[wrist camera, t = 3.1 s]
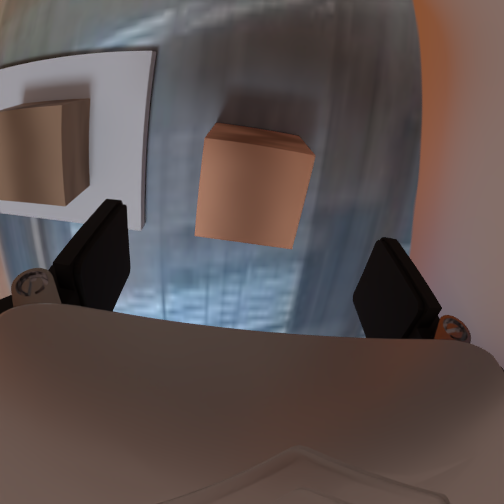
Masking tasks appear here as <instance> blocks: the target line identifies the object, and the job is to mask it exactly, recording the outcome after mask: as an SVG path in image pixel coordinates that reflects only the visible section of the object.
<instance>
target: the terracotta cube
mask: <svg viewBox="0 0 504 504" xmlns="http://www.w3.org/2000/svg"><path fill="white" fill-rule="evenodd" d="M314 160H315V155H314V153H313V152H312V151H311V150H310V149H309V147H308V146H307V145H306V144H305V143H304V141H303V140H302V139H301V138H300V137H299V136H297V135H292V134H287V133H281V132H276V131H270V130H264V129H258V128H252V127H245V126H238V125H231V124H223V123H216V124H215V125H214V126H213V128H212V129H211V130H210V132H209V133H208V134H207V136H206V137H205V140H204V148H203V157H202V165H201V174H200V184H199V193H198V204H197V214H196V226H195V236H199V237H206V238H214V239H221V240H229V241H236V242H243V243H251V244H258V245H265V246H272V247H280V248H287V249H292V247H293V243H294V239H295V236H296V232H297V228H298V224H299V220H300V217H301V213H302V209H303V205H304V201H305V197H306V193H307V189H308V185H309V181H310V177H311V173H312V169H313V164H314Z"/></svg>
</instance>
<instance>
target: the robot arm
mask: <svg viewBox="0 0 504 504" xmlns="http://www.w3.org/2000/svg"><path fill="white" fill-rule="evenodd" d="M129 273H130V254H129V239H128V219H127V206H126V205H125V204H123V203H122V201H121V200H115V199H106V200H105V201H104V202H103V203H102V204H101V205H100V206H99V207H98V208H97V209H96V211H95V212H94V213H93V214H92V215H91V216H90V217H89V219H88V220H87V221H86V222H85V223H84V224H83V226H82V227H81V228H80V229H79V230H78V232H77V233H76V234H75V235H74V236H73V238H72V239H71V240H70V241H69V243H68V244H67V245H66V246H65V248H64V249H63V250H62V251H61V253H60V254H59V255H58V256H57V258H56V259H55V260H54V262H53V265H52V266H51V267H50V269H49V270H46V269H43V268H33V269H29V270H27V271H24V272H22V273H21V274H20V275H18V276H17V277H16V278H15V280H14V281H13V283H12V286H11V293H12V295H10V296H8V297H5V298H3V299H0V504H504V370H503V368H502V367H501V366H500V365H499V364H498V362H497V361H496V359H495V358H494V356H493V355H491V354H490V353H489V352H487V351H486V350H484V349H482V348H480V347H478V346H475V345H473V344H470V342H471V335H470V332H469V330H468V328H467V327H466V326H465V324H464V323H463V322H462V321H460V320H459V319H457V318H456V317H454V316H450V315H444V316H442V317H441V318H440V319H439V317H438V314H439V312H440V311H441V309H442V307H441V306H440V304H439V303H438V301H437V299H436V297H435V296H434V294H433V293H432V291H431V289H430V288H429V286H428V285H427V283H426V282H425V280H424V278H423V277H422V276H421V274H420V272H419V271H418V270H417V268H416V266H415V265H414V263H413V262H412V261H411V259H410V258H409V256H408V255H407V253H406V252H405V250H404V249H403V248H402V246H401V245H400V243H399V242H398V241H397V240H396V239H391V238H386V237H383V238H381V239H380V240H378V241H377V242H376V243H375V246H374V248H373V251H372V253H371V255H370V258H369V260H368V262H367V265H366V267H365V269H364V272H363V274H362V276H361V278H360V281H359V283H358V285H357V287H356V289H355V292H354V294H353V302H354V305H355V308H356V311H357V313H358V316H359V319H360V322H361V324H362V327H363V330H364V333H365V336H366V338H352V337H331V336H314V335H299V334H286V333H273V332H262V331H251V330H241V329H232V328H223V327H214V326H206V325H198V324H190V323H182V322H175V321H168V320H161V319H154V318H148V317H142V316H136V315H130V314H124V313H119V312H113V309H114V307H115V305H116V302H117V300H118V298H119V296H120V293H121V291H122V289H123V287H124V285H125V283H126V280H127V278H128V276H129Z"/></svg>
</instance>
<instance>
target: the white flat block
mask: <svg viewBox="0 0 504 504" xmlns="http://www.w3.org/2000/svg"><path fill="white" fill-rule="evenodd" d="M155 58H156V52H155V51H121V52H104V53H92V54H82V55H73V56H65V57H58V58H52V59H46V60H40V61H35V62H30V63H25V64H21V65H16V66H12V67H8V68H4V69H0V212H1V213H4V214H13V215H21V216H29V217H37V218H45V219H53V220H61V221H69V222H77V223H85V222H86V221H87V220H88V219H89V217H90V216H91V215H92V214H93V213H94V212H95V211H96V209H97V208H98V207H99V206H100V205H101V204H102V203H103V202H104V201H105V200H106V199H115V200H121V201H122V203H123V204H125V205H126V206H127V219H128V229H131V230H139V231H141V230H142V228H143V227H144V225H145V169H146V149H147V133H148V120H149V109H150V99H151V90H152V81H153V73H154V65H155Z"/></svg>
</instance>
